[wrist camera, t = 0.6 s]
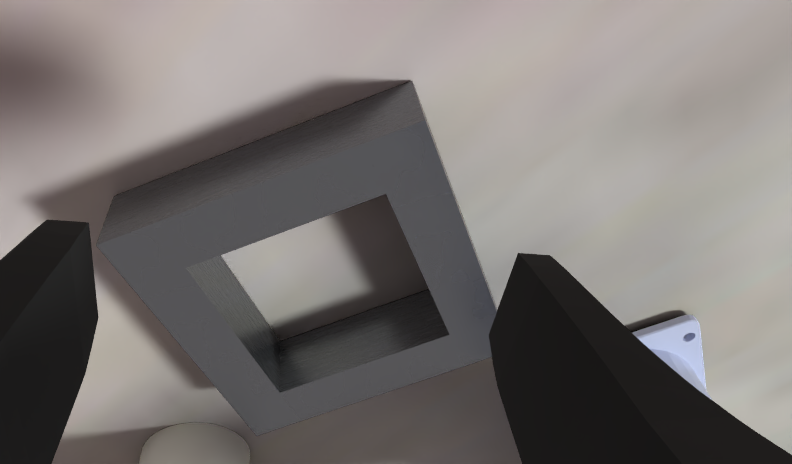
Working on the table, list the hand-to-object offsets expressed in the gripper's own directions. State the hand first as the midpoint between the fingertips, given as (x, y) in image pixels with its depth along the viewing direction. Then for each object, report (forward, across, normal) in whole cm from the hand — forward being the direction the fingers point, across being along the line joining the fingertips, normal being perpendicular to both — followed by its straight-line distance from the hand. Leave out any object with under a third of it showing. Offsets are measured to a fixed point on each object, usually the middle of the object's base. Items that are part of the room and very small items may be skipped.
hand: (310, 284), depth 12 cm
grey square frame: (+10, -1, +7) cm, 12 cm away
